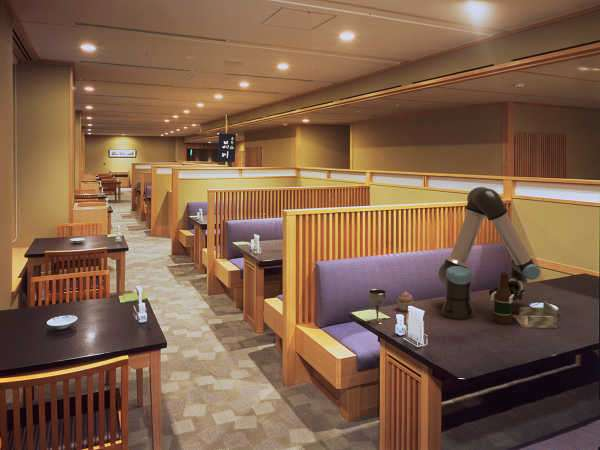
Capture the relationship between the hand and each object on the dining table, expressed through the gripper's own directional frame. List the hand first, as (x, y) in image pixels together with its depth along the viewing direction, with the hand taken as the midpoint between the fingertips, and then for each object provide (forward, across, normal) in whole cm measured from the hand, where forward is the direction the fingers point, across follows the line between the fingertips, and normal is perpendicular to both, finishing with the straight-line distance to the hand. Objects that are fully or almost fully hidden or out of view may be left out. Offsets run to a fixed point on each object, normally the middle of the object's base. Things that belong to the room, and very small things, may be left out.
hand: (500, 299), depth 219 cm
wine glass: (+27, +50, -13) cm, 58 cm away
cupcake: (+4, +46, -13) cm, 48 cm away
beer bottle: (-5, 0, -13) cm, 14 cm away
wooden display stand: (-12, -13, -12) cm, 22 cm away
